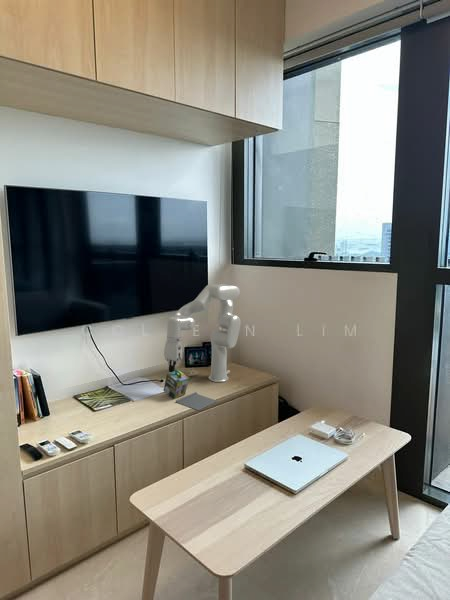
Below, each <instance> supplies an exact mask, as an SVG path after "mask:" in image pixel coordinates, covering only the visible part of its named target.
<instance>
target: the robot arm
mask: <svg viewBox="0 0 450 600" xmlns="http://www.w3.org/2000/svg"><path fill="white" fill-rule="evenodd" d="M240 293H241V290H240V288H239V287H238V286H236V285H232V284H231V285H230V284H226V283H225V284H224V283H219V284H212V283H211V284H207V285H206V286H205V287H204V288H203V289H202V290H201V292H199V294H198V295H197V297H196V298H195V299H194V300H193V301H190V302H188V303H187V304H184V305H183V306H182V307H180V308H179V309H178V310H177V312H176V313H175V314H174V316H170V317H168V319H167V329H166V330H167V331H166V341H165V345H164V351H163V352H164V353H163V357H164V360H166V361H167V364H168V373H171V372H174V371H175V369H176V365H177V364H180V363H181V360H182V358H183V346H182V345H183V344H182V338H181V336H182V331H192V330H193V329H194V328H195V327H196V320H195V319H194V318H192V317H190V315H192V314H196V313H201V312H204V311H206V310H207V309H208V307H209V306H210V305H211V304H212V302H213V301H214V300H218V301H219V309H218V314H217V317H216V324H217V327H219V328H221V329H214V330H212V332H211V334H210V344H211V367H210V368H211V369H210V375H209V376H208V380H209V381H211V382H215V383H224V382H227V381H229V379H230V378H229V376H228V374H230V373H231V370H230V369H227V361H228V360H227V359H228V358H227V357H228V351H227V349H232V348H234V347H236V345H237V343H238V339H239V335H240V330H241V325H242V324H241V323H242V321H241V318H240V317H239V316H238V315H236V314H233V313H234V301H235V300H237V299H238V298H239V296H240V295H241V294H240ZM223 329H226V330H223Z"/></svg>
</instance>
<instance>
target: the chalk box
mask: <svg viewBox="0 0 450 600" xmlns="http://www.w3.org/2000/svg"><path fill="white" fill-rule="evenodd" d="M189 379H190V377H189V376H188V375H186V374H185V373H184V372H182V371H181V370H180V369H176V368H175V371H174V372H168V373H166V378H165V382H164V387H163V390H162V391H164V392H165V393H166V394H167V395H168V396H169V397H170V398H172V400H176V399H178V398H181V396H182V397H183V396H184V395H186V392H187V389H188V384H189Z"/></svg>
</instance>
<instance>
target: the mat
mask: <svg viewBox="0 0 450 600" xmlns="http://www.w3.org/2000/svg"><path fill="white" fill-rule="evenodd" d="M217 402H218V400H216V399H213V398H211V397H208V396H205V395H202V394H199V393H197V391H194V392H192V393H190V394H188V395H185V396H182V397H179V398H177V399H175V403H177V404H179V405H182V406H184V405H185V407H187V406H188V408H190V409H193V410H196V411H198V412H199V411H201V410H204V409H206V408H208V407H209V406H211V405H213V404H215V403H217Z"/></svg>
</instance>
